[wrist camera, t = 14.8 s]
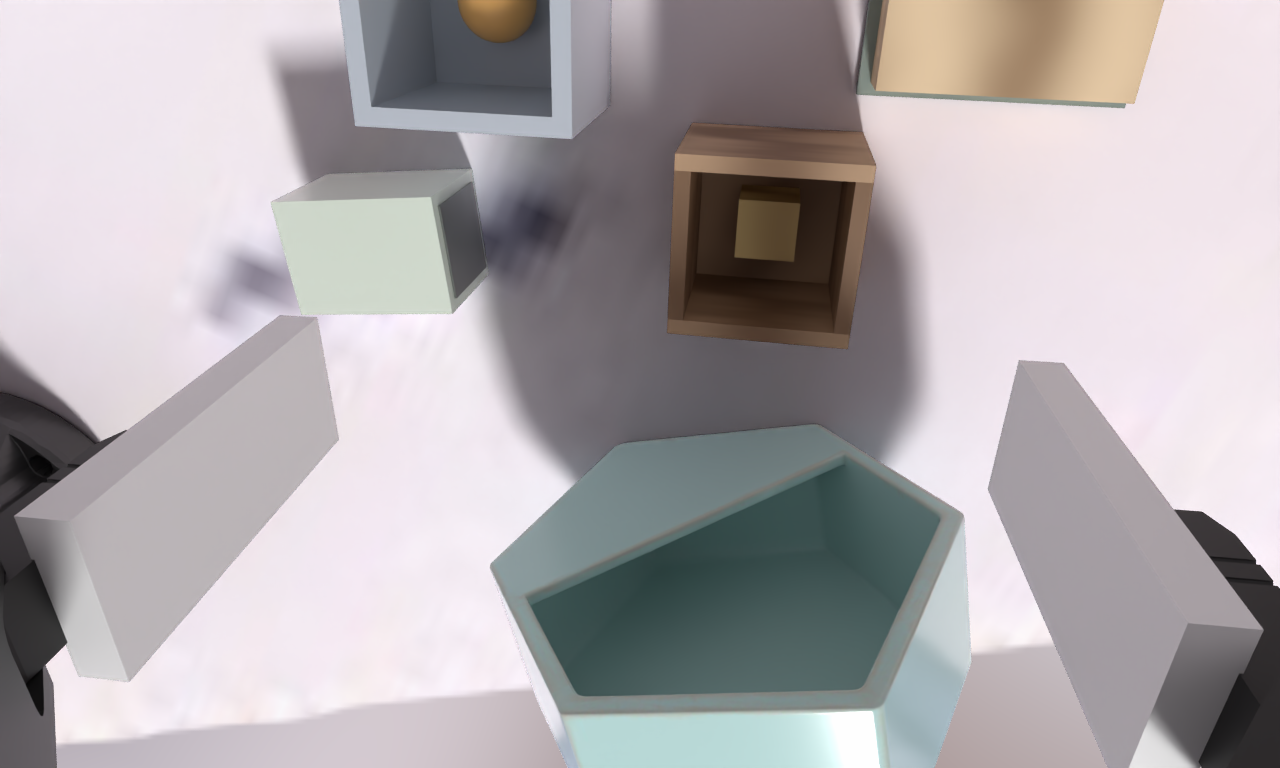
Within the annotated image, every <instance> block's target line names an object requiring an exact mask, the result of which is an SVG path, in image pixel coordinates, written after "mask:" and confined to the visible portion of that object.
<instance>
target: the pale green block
mask: <svg viewBox="0 0 1280 768" xmlns="http://www.w3.org/2000/svg"><path fill="white" fill-rule="evenodd" d="M271 206H272V210H273V213H274V217H275V221H276V224H277V228H278V231H279V235H280V239H281V242H282V246H283V250H284V253H285V257H286V261H287V264H288V268H289V272H290V275H291V279H292V283H293V286H294V290H295V293H296V297H297V301H298V304H299V308H300V312H301V315H339V314H453V313H454V312H455V311H456V309H457V308H458V307H459V306H460V305H461V304H462V303H463V302H464V301H465V300H466V299H467V297H468V296H469V295H470V294H471V293H472V292H473V291H474V290H475V289H476V288H477V287H478V285H479V284H480V283H481V282H482V281H483V280H484V279H485V278H486V277H487V276H488V275H489V273H488V267H487V260H486V254H485V248H484V242H483V235H482V229H481V223H480V217H479V211H478V204H477V198H476V192H475V186H474V179H473V173H472V168H470V169H443V170H416V171H389V172H362V173H335V174H326V175H324V176H322V177H320V178H318V179H316V180H314V181H312V182H310V183H308V184H306V185H304V186H302V187H300V188H298V189H296V190H294V191H292V192H290V193H288V194H286V195H284V196H282V197H280V198H278V199H276V200H274V201H272V202H271Z"/></svg>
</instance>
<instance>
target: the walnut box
mask: <svg viewBox="0 0 1280 768" xmlns="http://www.w3.org/2000/svg"><path fill="white" fill-rule="evenodd" d="M875 171H876V164H875V161H874V159H873V156H872V154H871V151H870V148H869V146H868V143H867V141H866V138H865V136H864V133H863V132H850V131H833V130H815V129H797V128H779V127H761V126H744V125H726V124H708V123H692V124H691V126H690V128H689V129H688V131H687V133H686V135H685V137H684V138H683V140H682V142H681V144H680V145H679V147H678V149H677V151H676V153H675V163H674V186H673V209H672V231H671V254H670V276H669V299H668V321H667V333H670V334H682V335H693V336H704V337H716V338H727V339H738V340H749V341H761V342H772V343H783V344H794V345H806V346H817V347H828V348H840V349H848V344H849V338H850V331H851V325H852V318H853V312H854V306H855V299H856V293H857V286H858V280H859V274H860V267H861V261H862V254H863V248H864V242H865V235H866V229H867V222H868V216H869V209H870V203H871V197H872V190H873V184H874V177H875Z"/></svg>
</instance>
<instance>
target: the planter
mask: <svg viewBox="0 0 1280 768" xmlns="http://www.w3.org/2000/svg"><path fill="white" fill-rule="evenodd" d="M490 570H491V573H492V575H493V578H494V581H495V584H496V587H497V590H498V592H499V595H500V598H501V601H502V604H503V606H504V609H505V612H506V615H507V618H508V621H509V623H510V626H511V629H512V632H513V635H514V638H515V640H516V643H517V646H518V649H519V652H520V654H521V657H522V660H523V663H524V666H525V669H526V671H527V674H528V677H529V680H530V683H531V686H532V688H533V691H534V694H535V696H536V699H537V701H538V703H539V706H540V708H541V710H542V712H543V715H544V717H545V719H546V721H547V723H548V726H549V728H550V730H551V732H552V734H553V737H554V739H555V741H556V743H557V745H558V747H559V750H560V752H561V754H562V756H563V758H564V760H565V763H566V765H567V767H568V768H935V765H936V762H937V759H938V756H939V753H940V751H941V748H942V745H943V742H944V739H945V736H946V733H947V730H948V727H949V725H950V722H951V719H952V716H953V713H954V710H955V708H956V705H957V702H958V699H959V696H960V693H961V690H962V688H963V685H964V682H965V679H966V676H967V673H968V670H969V667H970V665H971V641H970V621H969V601H968V580H967V560H966V540H965V520H964V515H963V514H962V513H961V512H960V511H958V510H957V509H955V508H954V507H952V506H950V505H949V504H947V503H946V502H944V501H942V500H941V499H939V498H938V497H936V496H934V495H933V494H931V493H929V492H928V491H926V490H925V489H923V488H921V487H920V486H918V485H916V484H915V483H913V482H912V481H910V480H908V479H907V478H905V477H904V476H902V475H900V474H899V473H897V472H895V471H894V470H892V469H891V468H889V467H887V466H886V465H884V464H883V463H881V462H879V461H878V460H876V459H874V458H873V457H871V456H870V455H868V454H866V453H865V452H863V451H862V450H860V449H858V448H857V447H855V446H853V445H852V444H850V443H849V442H847V441H845V440H844V439H842V438H841V437H839V436H837V435H836V434H834V433H832V432H831V431H829V430H828V429H826V428H824V427H823V426H821V425H819V424H808V425H798V426H788V427H778V428H768V429H757V430H747V431H737V432H727V433H717V434H707V435H697V436H687V437H677V438H667V439H657V440H647V441H637V442H628V443H622V444H619V445H617V446H615V447H614V448H613V449H612V450H611V451H610V452H609V453H608V454H606V455H605V456H604V457H603V458H602V459H601V460H600V461H599V462H598V463H597V464H596V465H595V466H594V467H593V468H591V469H590V470H589V471H588V472H587V473H586V474H585V475H584V476H583V477H582V478H581V479H580V480H579V481H578V482H577V483H576V484H574V485H573V486H572V487H571V488H570V489H569V490H568V491H567V492H566V493H565V494H564V495H563V496H562V497H561V498H560V499H559V500H558V501H556V502H555V503H554V504H553V505H552V506H551V507H550V508H549V509H548V510H547V511H546V512H545V513H544V514H543V515H542V516H541V517H539V518H538V519H537V520H536V521H535V522H534V523H533V524H532V525H531V526H530V527H529V528H528V529H527V530H526V531H525V532H524V533H523V534H521V535H520V536H519V537H518V538H517V539H516V540H515V541H514V542H513V543H512V544H511V545H510V546H509V547H508V548H507V549H506V550H505V551H503V552H502V553H501V554H500V555H499V556H498V557H497V558H496V559H495V560H494V561H493V562H492V563H491V565H490Z"/></svg>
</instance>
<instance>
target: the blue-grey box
mask: <svg viewBox="0 0 1280 768" xmlns="http://www.w3.org/2000/svg"><path fill="white" fill-rule="evenodd" d="M339 5H340V13H341V20H342V28H343V36H344V44H345V51H346V59H347V67H348V75H349V82H350V90H351V98H352V106H353V113H354V121H355V126H361V127H378V128H395V129H411V130H428V131H445V132H462V133H478V134H495V135H512V136H529V137H545V138H562V139H573V138H574V137H575V136H576V135H577V134H579V133H580V132H581V131H582V130H583V129H584V128H585V127H587V126H588V125H589V124H590V123H591V122H592V121H593V120H595V119H596V118H597V117H598V116H599V115H600V114H601V113H603V112H604V111H605V110H606V109H607V108H608V107H609V106H610V72H611V0H339Z"/></svg>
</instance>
